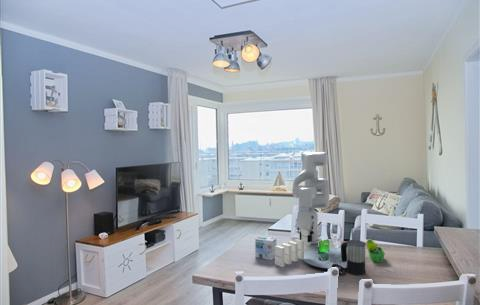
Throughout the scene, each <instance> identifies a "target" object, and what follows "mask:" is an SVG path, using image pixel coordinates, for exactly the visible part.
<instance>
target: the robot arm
mask: <svg viewBox="0 0 480 305" xmlns="http://www.w3.org/2000/svg"><path fill="white" fill-rule="evenodd" d="M328 160H329V156H328V154H327V152H326V151H306V152H303V153H302V154H301V162H302V164H301V165H302V167H301V172H300V173H298V174H297V176H296V177H295V178H294V180H293V183H292V189H291V190H292V191H291V192H292V196H293V197H294V199H298V211H297V216H296V224H295V225H294V227H295V228H296V229H297V232H298V234H299V240H301V229H305V230H307V231H308V242H310V245H317V244H319V243H318V241H319V239H320V238H319V237H322V233H320V232H319V224H318V223H319V214H318V212H317V211H316V210H315V209H324V210H325V209H328V208H329V206H330V182H329V180H328V179H327V178H322V177H321V178H320V177H319V172H318V170H317V167H325V166H327V163H328ZM303 182H304V185H300V184H301V183H303Z"/></svg>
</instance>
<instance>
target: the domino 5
mask: <svg viewBox="0 0 480 305" xmlns="http://www.w3.org/2000/svg"><path fill="white" fill-rule="evenodd" d="M301 240H302V241H304V246H307V247H309V246H311V244H310V242H308V231H307V230H305V229H301Z"/></svg>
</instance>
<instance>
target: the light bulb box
mask: <svg viewBox="0 0 480 305" xmlns="http://www.w3.org/2000/svg"><path fill="white" fill-rule="evenodd" d="M275 246H277V237H269V236H263V235H260V236H258V237H257V238H255V247H254V248H255V252H254V253H255V254H254V255H255V258H259V259H264V260H269V261H272V260H275Z"/></svg>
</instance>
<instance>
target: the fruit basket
mask: <svg viewBox="0 0 480 305" xmlns="http://www.w3.org/2000/svg"><path fill="white" fill-rule="evenodd" d="M365 243H366V248H367V251H368V256H369V257H370V260H371V262H373V263H376V262H377V263H383V261H384V257H385V255H386V253H385V251H384V250H383V248H382V247H380V246H378V243H376V242H375V241H374V240H373V239H372V238H367V239H366V240H365Z"/></svg>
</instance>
